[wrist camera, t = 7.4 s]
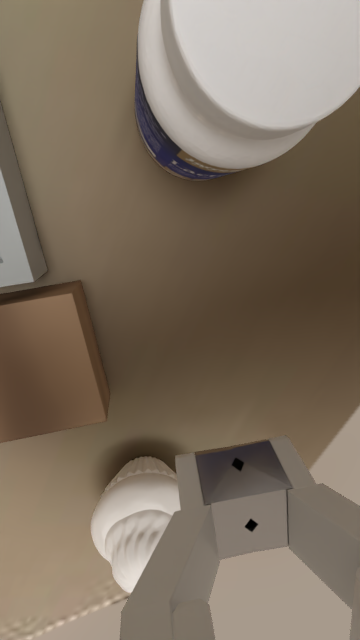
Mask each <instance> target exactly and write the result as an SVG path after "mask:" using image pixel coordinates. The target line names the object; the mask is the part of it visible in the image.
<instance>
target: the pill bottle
mask: <svg viewBox="0 0 360 640" xmlns="http://www.w3.org/2000/svg"><path fill="white" fill-rule="evenodd" d="M359 87H360V0H144V2H143V5H142V10H141V15H140V20H139V28H138V36H137V60H136V84H135V117H136V123H137V127H138V131H139V134H140V137H141V140H142V142H143V144H144V146H145V148H146V149H147V151H148V153H149V154H150V155H151V157H152V158H153V159H154V160H155V161H156V162H157V163H158V164H159V165H160V166H161V167H162V168H163V169H165V170H166V171H167V172H169V173H171V174H173V175H175V176H177V177H179V178H182V179H186V180H192V181H203V180H210V179H214V178H217V177H221V176H224V175H228V174H231V173H235V172H238V171H242V170H246V169H249V168H253V167H256V166H260V165H262V164H265V163H267V162H269V161H271V160H273V159H275V158H277V157H279V156H281V155H282V154H284V153H285V152H287V151H289V150H290V149H291V148H292V147H294V146H295V145H296V144H297V143H298V142H299V141H301V140H302V139H303V138H304V137H305V135H306V134H307V133H308V132H309V131H310V130H311V129H312V127H313V126H314V125H315V123H316V122H318V121H320V120H322V119H323V118H325V117H327V116H328V115H330V114H331V113H333V112H334V111H335V110H337V109H338V108H339V107H341V106H342V105H343V104H344V103H345V102H346V101H347V100H348V99H349V98H350V97H351V96H352V95H353V94H354V93H355V92H356V91H357V89H358V88H359Z"/></svg>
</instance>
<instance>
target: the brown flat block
mask: <svg viewBox="0 0 360 640" xmlns="http://www.w3.org/2000/svg"><path fill="white" fill-rule="evenodd" d="M109 399H110V391H109V387H108V383H107V380H106V376H105V372H104V368H103V364H102V360H101V356H100V353H99V349H98V345H97V341H96V337H95V333H94V329H93V326H92V322H91V318H90V314H89V310H88V306H87V302H86V299H85V295H84V291H83V287H82V283H81V280H79V281H73V282H68V283H62V284H56V285H50V286H44V287H39V288H33V289H27V290H21V291H16V292H10V293H4V294H0V443H3V442H8V441H12V440H17V439H22V438H27V437H32V436H37V435H42V434H47V433H51V432H56V431H61V430H66V429H71V428H76V427H81V426H86V425H90V424H95V423H100V422H105V421H107V415H108V407H109Z"/></svg>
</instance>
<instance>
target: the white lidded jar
mask: <svg viewBox="0 0 360 640" xmlns="http://www.w3.org/2000/svg"><path fill="white" fill-rule="evenodd" d="M179 510H181V509H180V500H179V491H178V482H177V474H176V473H175V472H174V471H172V470H171V469H170V468H169V467H168V466H167V465H166V464H165V463H164V462H163V461H161V460H160V459H156V458H155V457H154V458H152V457H151V456H149V457H147V456H145V457H140V458H135V459H134V460H130V461H129V463H126V465H125V466H124V467H123V468H122V469H121V470H120V471H119V472H118V474H117V475H116V476H115V477H114V478H113V479H112V481H111V482H110V483H109V484H108V485H107V487H106V488H105V491H104V492H103V493H102V495H101V499H100V500H99V502H98V504H97V505H96V508H95V510H94V513H93V516H92V520H91V534H92V538H93V542H94V544H95V546H96V548H97V550H98V551H99V553H100V554H101V555H102V556H103V557H104V558H105V559H106V560H108V561H109V562H110V564H111V566H112V573H113V577H114V579H115V580H116V582H117V583H118V584H119V585H120V586H121V588H122V589H123V590H125V591H126V592H129V593H132V591H133V589H134V587H135V585H136V583H137V582H138V580H139V578H140V576H141V574H142V572H143V570H144V568H145V566H146V565H147V563H148V561H149V559H150V557H151V555H152V553H153V551H154V550H155V548H156V546H157V544H158V542H159V540H160V538H161V536H162V534H163V533H164V531H165V529H166V527H167V525H168V523H169V521H170V519H171V518H172V516H173V514H174V512H175V511H179Z"/></svg>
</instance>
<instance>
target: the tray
mask: <svg viewBox="0 0 360 640" xmlns="http://www.w3.org/2000/svg"><path fill="white" fill-rule="evenodd" d="M47 271H48V270H47V266H46V263H45V259H44V255H43V252H42V248H41V245H40V241H39V238H38V234H37V230H36V227H35V223H34V220H33V216H32V212H31V209H30V205H29V202H28V198H27V195H26V191H25V187H24V184H23V180H22V177H21V173H20V170H19V166H18V162H17V159H16V155H15V152H14V148H13V144H12V141H11V137H10V134H9V130H8V127H7V123H6V119H5V116H4V112H3V109H2V105H1V101H0V287H4V286H11V285H17V284H23V283H29V282H34V281H36V280H37V279H38V278H39V277H41V276H42V275H43V274H44V273H46V272H47Z"/></svg>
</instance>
